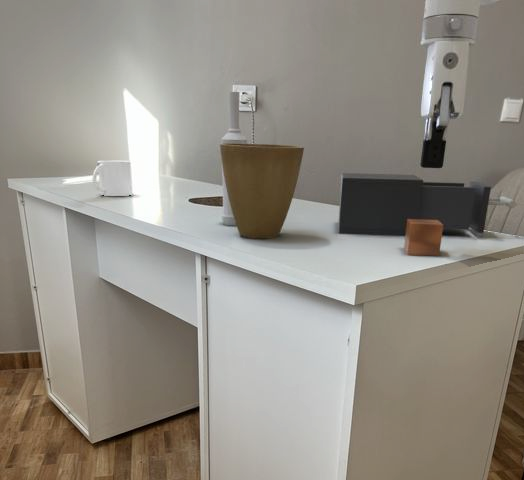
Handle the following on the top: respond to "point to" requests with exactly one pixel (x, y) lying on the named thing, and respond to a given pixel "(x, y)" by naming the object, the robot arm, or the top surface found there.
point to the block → (423, 237)
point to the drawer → (458, 204)
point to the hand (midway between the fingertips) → (431, 167)
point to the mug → (113, 178)
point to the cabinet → (378, 203)
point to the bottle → (231, 137)
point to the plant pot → (260, 185)
